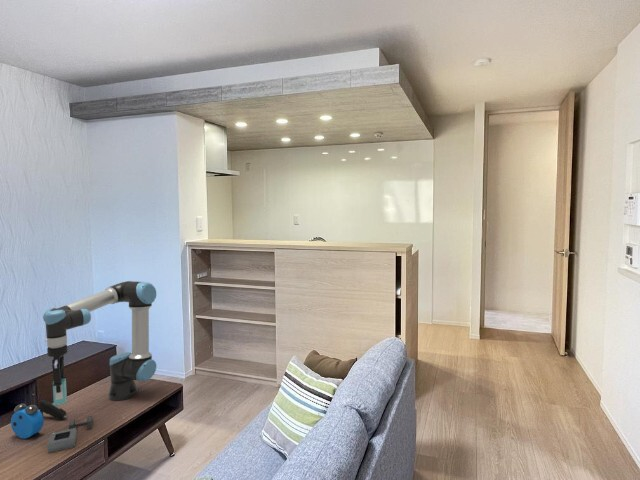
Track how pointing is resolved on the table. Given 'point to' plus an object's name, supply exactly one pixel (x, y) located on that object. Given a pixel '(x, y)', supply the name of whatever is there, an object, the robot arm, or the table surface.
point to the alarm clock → (26, 421)
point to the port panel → (62, 440)
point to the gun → (52, 410)
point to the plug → (63, 401)
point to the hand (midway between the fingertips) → (60, 396)
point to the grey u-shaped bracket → (88, 422)
